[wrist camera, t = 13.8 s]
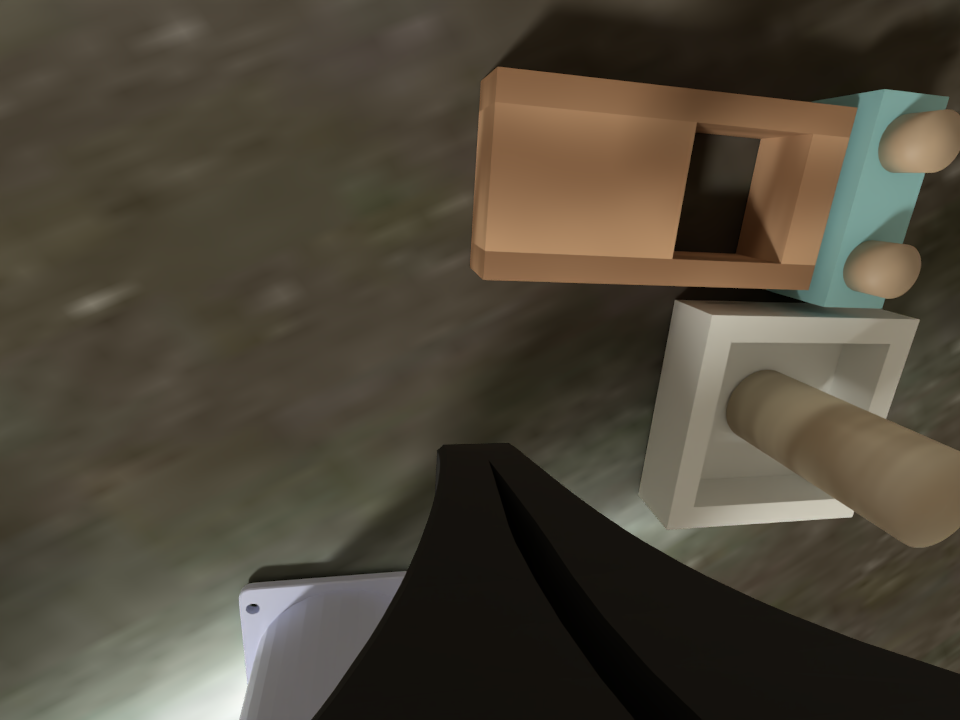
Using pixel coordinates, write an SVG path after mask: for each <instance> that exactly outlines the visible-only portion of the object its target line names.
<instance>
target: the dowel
mask: <svg viewBox="0 0 960 720" xmlns="http://www.w3.org/2000/svg"><path fill="white" fill-rule="evenodd" d="M726 418H727V423H728V425H729V427H730V429H731V430H732V431H733V433H735V434H736V435H737V436H739V437H740V438H742V439H744V440H745V441H747V442H748V443H750V444H751V445H753V446H754V447H756V448H757V449H759V450H761V451H762V452H764V453H765V454H767V455H768V456H770V457H771V458H773V459H774V460H776V461H778V462H779V463H781V464H782V465H784V466H785V467H787V468H788V469H790V470H791V471H793V472H794V473H796V474H798V475H799V476H801V477H802V478H804V479H805V480H807V481H808V482H810V483H811V484H813V485H815V486H816V487H818V488H819V489H821V490H822V491H824V492H825V493H827V494H828V495H830V496H832V497H833V498H835V499H836V500H838V501H839V502H841V503H842V504H844V505H845V506H847V507H849V508H850V509H852V510H853V511H855V512H856V513H858V514H859V515H861V516H862V517H864V518H865V519H867V520H869V521H870V522H872V523H873V524H875V525H876V526H878V527H879V528H881V529H882V530H884V531H886V532H887V533H889V534H890V535H892V536H893V537H895V538H896V539H898V540H899V541H901V542H903V543H904V544H906V545H908V546H910V547H915V548H922V547H928V546H931V545H934V544H936V543H939V542H941V541H942V540H944V539H946V538H947V537H949V536H950V535H951V534H953V533H954V532H955V531H956V530H957V529H958V528H960V451H957V450H955V449H953V448H951V447H948V446H946V445H944V444H941V443H939V442H937V441H935V440H932V439H930V438H928V437H926V436H923V435H921V434H919V433H916V432H914V431H912V430H910V429H907V428H905V427H903V426H900V425H898V424H896V423H894V422H891V421H889V420H887V419H885V418H882V417H880V416H878V415H875V414H873V413H871V412H869V411H866V410H864V409H862V408H859V407H857V406H855V405H853V404H850V403H848V402H846V401H844V400H841V399H839V398H837V397H834V396H832V395H830V394H828V393H825V392H823V391H821V390H818V389H816V388H814V387H812V386H809V385H807V384H805V383H803V382H800V381H798V380H796V379H793V378H791V377H789V376H787V375H784V374H782V373H780V372H777V371H774V370H761V371H758V372H755V373H753V374H751V375H749V376H748V377H746V378H745V379H744V380H743V381H742V382H741V383H740V384H739V385H738V386H737V387H736V388H735V390H734V391H733V393H732V395H731V397H730V399H729V401H728V405H727V410H726Z"/></svg>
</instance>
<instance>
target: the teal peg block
mask: <svg viewBox="0 0 960 720" xmlns="http://www.w3.org/2000/svg"><path fill="white" fill-rule="evenodd" d="M948 99H949V97H945V96H937V95H929V94H921V93H913V92H905V91H897V90H889V89H883V90H877V91H871V92H865V93H859V94H853V95H847V96H841V97H835V98H829V99H823V100H817V101H812V103H821V104H830V105H839V106H847V107H856V108H858V109H857V112H856V116H855V120H854V123H853V127H852V131H851V135H850V138H849V142H848V146H847V149H846V153H845V157H844V161H843V164H842V168H841V172H840V175H839V179H838V183H837V187H836V190H835V194H834V198H833V201H832V205H831V209H830V213H829V216H828V220H827V224H826V227H825V231H824V235H823V239H822V242H821V246H820V250H819V253H818V257H817V261H816V265H815V268H814V272H813V276H812V279H811V283H810V287H809V290H785V289H766V290H767V291H771V292H774V293H778V294H781V295H784V296H788V297H791V298H795V299H798V300H801V301H805V302H808V303H812V304H815V305H818V306H822V307H840V308H880V309H882V307H883V304H884V301H885V298H886V299H892V298H896V297H899V296H901V295H903V294H904V293H905V292H907V291H908V290H909V289H910V288H911V287H912V286H913V284H914V283H915V281H916V280H917V278H918V275H919V273H920V269H921V257H920V254H919V252H918V250H917V249H916V248H915V247H913V246H911V245H907V244H903V241H904V238H905V235H906V232H907V228H908V225H909V222H910V219H911V216H912V213H913V210H914V206H915V203H916V200H917V197H918V194H919V191H920V188H921V184H922V181H923V178H924V175H925V173H934V172H938V171H940V170H942V169H944V168H946V167H947V166H948V165H949V164H950V163H951V162H952V161H953V160H954V159H955V157H956V156H957V154H958V153H959V151H960V115H959V114H958V113H957V112H955V111H953V110H949V109H946V106H947V103H948Z"/></svg>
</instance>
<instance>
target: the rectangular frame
mask: <svg viewBox="0 0 960 720" xmlns="http://www.w3.org/2000/svg"><path fill="white" fill-rule="evenodd" d="M857 109H858V108H856V107H847V106H839V105H830V104H821V103H812V102H804V101H795V100H786V99H777V98H769V97H760V96H751V95H742V94H733V93H725V92H716V91H707V90H698V89H690V88H681V87H672V86H663V85H655V84H646V83H637V82H628V81H620V80H611V79H602V78H593V77H584V76H576V75H567V74H558V73H549V72H541V71H532V70H523V69H514V68H506V67H497V68H495V69H494V70H493V71H492V72H491V73H490V74H489V75H488V76H486V77H485V78H484V79H483V80H482V81H481V89H480V105H479V122H478V139H477V156H476V173H475V190H474V207H473V223H472V240H471V257H470V267H471V268H472V269H473V270H474V271H475V272H476V273H477V274H478V275H479V276H480V277H481V278H482V279H483V280H505V281H536V282H567V283H598V284H629V285H660V286H692V287H723V288H754V289H785V290H809V287H810V283H811V279H812V276H813V272H814V268H815V265H816V261H817V257H818V253H819V250H820V246H821V242H822V239H823V235H824V231H825V227H826V224H827V220H828V216H829V213H830V209H831V205H832V201H833V198H834V194H835V190H836V187H837V183H838V179H839V175H840V172H841V168H842V164H843V161H844V157H845V153H846V149H847V146H848V142H849V138H850V135H851V131H852V127H853V123H854V120H855V116H856V112H857ZM695 133H705V134H716V135H726V136H737V137H747V138H757V139H761V141H760V146H759V150H758V155H757V159H756V164H755V168H754V173H753V178H752V182H751V187H750V191H749V196H748V200H747V205H746V209H745V214H744V219H743V223H742V228H741V232H740V237H739V241H738V246H737V250H736V254H729V253H707V252H686V251H674V247H675V241H676V236H677V230H678V225H679V219H680V214H681V208H682V203H683V197H684V192H685V186H686V181H687V175H688V170H689V164H690V158H691V153H692V147H693V142H694V136H695Z"/></svg>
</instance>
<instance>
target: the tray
mask: <svg viewBox="0 0 960 720" xmlns="http://www.w3.org/2000/svg"><path fill="white" fill-rule="evenodd" d="M919 321H920V319H916V318H913V317H909V316H905V315H901V314H897V313H894V312H890V311H886V310H882V309H879V308H840V307H822V306H818V305H815V304H812V303H782V302H745V301H707V300H675V302H674V307H673V312H672V318H671V323H670V328H669V334H668V339H667V344H666V350H665V355H664V360H663V366H662V371H661V376H660V382H659V387H658V392H657V397H656V403H655V408H654V413H653V419H652V424H651V429H650V435H649V440H648V445H647V451H646V456H645V461H644V467H643V472H642V477H641V483H640V488H639V493H638V496H639V497H640V498H641V499H642V500H643V502H644V503H645V504H646V505H647V506H648V508H649V509H650V510H651V511H652V513H653V514H654V515H655V516H656V517H657V519H658V520H659V521H660V522H661V523H662V525H663V526H664V527H665V528H666V530H670V529H685V528H699V527H714V526H729V525H743V524H758V523H773V522H787V521H802V520H817V519H831V518H846V517H852V516H853V513H854V511H853V510H852V509H850V508H849V507H847V506H845V505H844V504H842V503H841V502H839V501H838V500H836V499H835V498H833V497H832V496H830V495H828V494H827V493H825V492H824V491H822V490H821V489H819V488H818V487H816V486H815V485H813V484H811V483H810V482H808V481H807V480H805V479H804V478H802V477H801V476H799V475H798V474H796V473H794V472H793V471H791V470H790V469H788V468H787V467H785V466H784V465H782V464H781V463H779V462H778V461H776V460H774V459H773V458H771V457H770V456H768V455H767V454H765V453H764V452H762V451H761V450H759V449H757V448H756V447H754V446H753V445H751V444H750V443H748V442H747V441H745V440H744V439H742V438H740V437H739V436H737V435H736V434H735V433H733V431H732V430H731V429H730V427H729V425H728V423H727V418H726V410H727V405H728V401H729V399H730V397H731V395H732V393H733V391H734V390H735V388H736V387H737V386H738V385H739V384H740V383H741V382H742V381H743V380H744V379H745V378H746V377H748V376H749V375H751V374H753V373H755V372H758V371H761V370H774V371H777V372H780V373H782V374H784V375H787V376H789V377H791V378H793V379H796V380H798V381H800V382H803V383H805V384H807V385H809V386H812V387H814V388H816V389H818V390H821V391H823V392H825V393H828V394H830V395H832V396H834V397H837V398H839V399H841V400H844V401H846V402H848V403H850V404H853V405H855V406H857V407H859V408H862V409H864V410H866V411H869V412H871V413H873V414H875V415H878V416H880V417H882V418H885V419H886V417H887V414H888V411H889V408H890V405H891V403H892V400H893V397H894V394H895V391H896V388H897V385H898V382H899V379H900V376H901V373H902V371H903V368H904V365H905V362H906V359H907V356H908V353H909V350H910V347H911V344H912V341H913V339H914V336H915V333H916V330H917V327H918V324H919Z"/></svg>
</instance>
